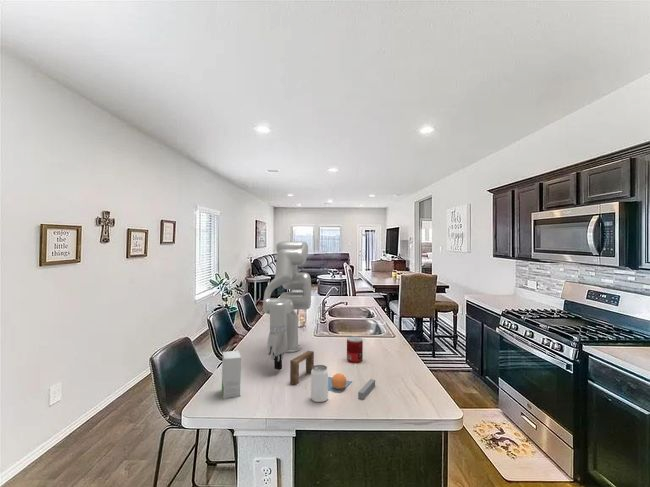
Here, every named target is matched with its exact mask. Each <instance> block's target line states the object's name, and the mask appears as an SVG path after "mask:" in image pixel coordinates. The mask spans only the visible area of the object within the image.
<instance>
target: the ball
mask: <svg viewBox="0 0 650 487" xmlns="http://www.w3.org/2000/svg"><path fill="white" fill-rule="evenodd" d="M346 380H347V377H346V376H345V374H342V373H335V374H334V375H332V385H333V386H334V387H335V388H336V389H342V388H344V387H345V385H346Z"/></svg>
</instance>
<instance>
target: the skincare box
mask: <svg viewBox="0 0 650 487" xmlns="http://www.w3.org/2000/svg"><path fill="white" fill-rule="evenodd" d="M221 365H222V367H221V393H222V397H223V399H224V400H225V399H231V398H237V397H240V396H241V377H242V375H241V371H242V370H241V369H242V357H241V353H240V352H239V350H230V351H222V364H221Z"/></svg>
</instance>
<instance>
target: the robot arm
mask: <svg viewBox="0 0 650 487" xmlns="http://www.w3.org/2000/svg"><path fill="white" fill-rule="evenodd" d="M275 247H276V253H277V255H276V264H275V273H274V274H275V275H274V278H273V279H272V280H271V281H270V282H269V283H268V285H267V286H266V288H265V290H264V294H263V300H262V310H263V312H264V314H267V315H269V333H268V338H267V347H266V352H267V355H268V356H269V358H270V360H273V364H274V365H273V368H274V370H278V371H281V370H282V369H283V359H284V355H285V354H286V353H295V352H298V351H300V350H301V348H302V347H301V345H300V344H299V317H298V313H297V312H296V310H302V311H303V310H309V309H310V308H311V305H312V280H311V275H310V274H309V273H308V272H298V267H299V266H304V264H306V261H307V258H308V254H309V245H308V243H307V242H306V241H300V240H299V241H293V240H292V241H290V240H289V241H287V240H286V241H279V242H277V243H276V246H275ZM281 286H282V287H283V289H284V290H293V291H286V292H282V293H281V294H280V296H279V297H278V298H276V297H271V295H272V293H273V292H274V291H275V289H277V288H278V287H281ZM294 290H295V291H294ZM298 290H299V291H300V290H301V291H302V292H301V291H300V292H299V291H298Z"/></svg>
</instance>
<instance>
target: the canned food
mask: <svg viewBox="0 0 650 487" xmlns="http://www.w3.org/2000/svg"><path fill="white" fill-rule="evenodd" d="M363 341H364V340H363V338H362V337H360V336H349V337H347V338H346V360H347V362H349V363H352V364H358V363H362V361H363V359H364V358H363V355H364V354H363V350H364V348H363V347H364V344H363V343H364V342H363Z"/></svg>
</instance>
